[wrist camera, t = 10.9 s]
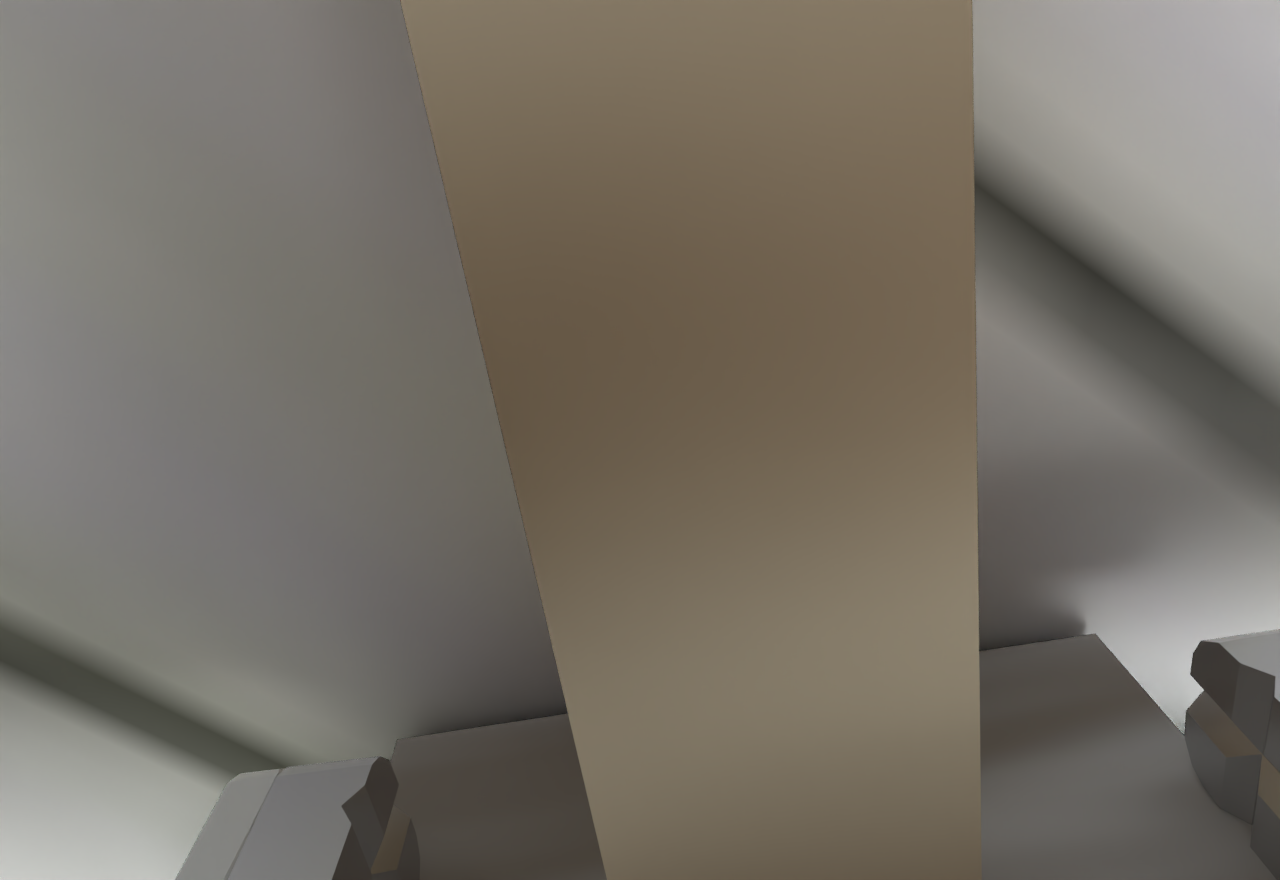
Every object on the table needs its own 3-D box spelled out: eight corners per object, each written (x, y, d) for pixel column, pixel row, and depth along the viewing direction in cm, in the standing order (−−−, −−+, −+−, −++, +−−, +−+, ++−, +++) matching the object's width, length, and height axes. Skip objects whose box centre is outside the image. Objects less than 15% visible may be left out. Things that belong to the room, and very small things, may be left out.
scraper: (-8, -475, 7) (-947, -1311, 3) (1161, -696, 7) (2093, -1983, 2) (434, 853, 12) (347, 1254, 8) (1089, 756, 12) (1345, 1119, 8)
